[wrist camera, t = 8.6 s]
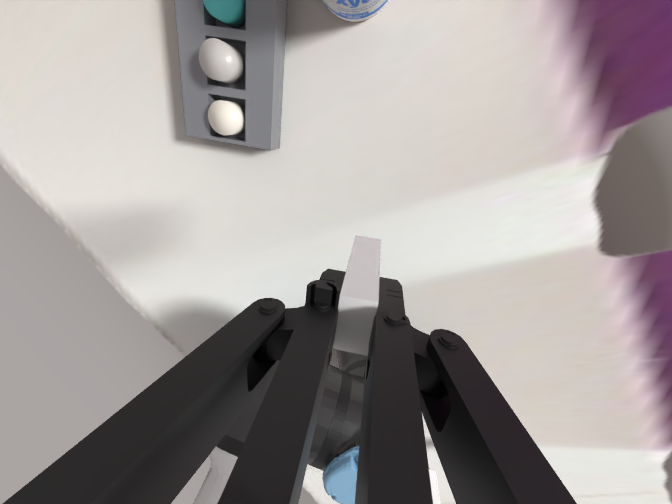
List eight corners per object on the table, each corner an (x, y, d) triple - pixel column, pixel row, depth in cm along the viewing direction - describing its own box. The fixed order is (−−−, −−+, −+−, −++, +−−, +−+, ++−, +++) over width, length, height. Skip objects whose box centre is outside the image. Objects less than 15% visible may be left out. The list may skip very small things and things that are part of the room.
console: (279, 148, 40) (270, 150, 37) (201, 134, 41) (185, 135, 38) (288, -16, 33) (277, -31, 29) (190, -28, 34) (170, -43, 30)
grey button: (244, 85, 35) (232, 82, 33) (214, 81, 36) (199, 77, 33) (244, 47, 33) (231, 40, 31) (212, 42, 34) (197, 35, 31)
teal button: (248, 29, 34) (237, 21, 31) (217, 25, 34) (202, 16, 31) (249, -15, 32) (236, -27, 29) (215, -19, 32) (200, -32, 30)
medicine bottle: (406, 459, 65) (411, 526, 54) (436, 470, 65) (446, 539, 54) (394, 474, 68) (396, 541, 57) (422, 485, 68) (429, 553, 57)
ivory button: (248, 136, 39) (238, 137, 36) (220, 132, 39) (208, 132, 37) (248, 104, 37) (237, 102, 34) (219, 99, 38) (207, 97, 35)
